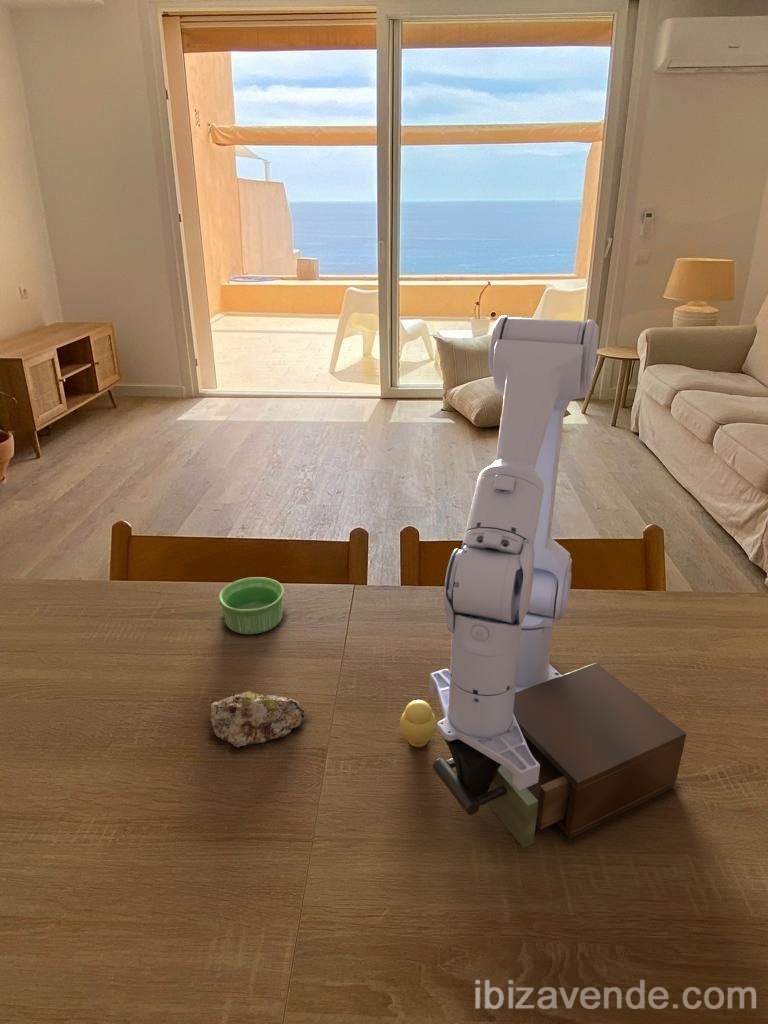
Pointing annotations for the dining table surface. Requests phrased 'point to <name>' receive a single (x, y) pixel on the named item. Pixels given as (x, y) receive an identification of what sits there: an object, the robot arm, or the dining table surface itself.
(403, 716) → the yellow double-bulb knob
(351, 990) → the dining table surface
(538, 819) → the drawer
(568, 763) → the cabinet
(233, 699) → the mineral rock
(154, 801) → the dining table surface
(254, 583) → the ramekin
